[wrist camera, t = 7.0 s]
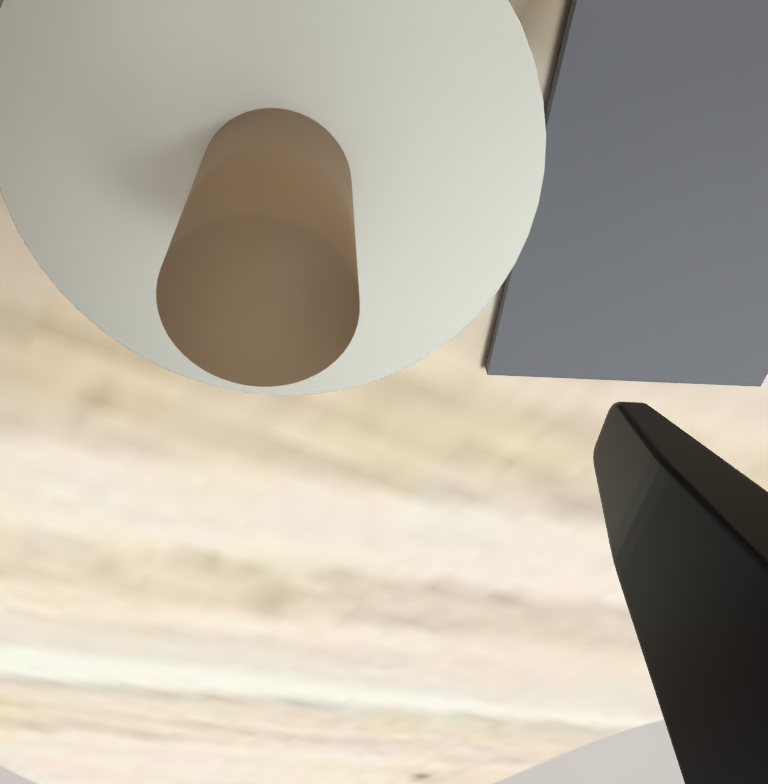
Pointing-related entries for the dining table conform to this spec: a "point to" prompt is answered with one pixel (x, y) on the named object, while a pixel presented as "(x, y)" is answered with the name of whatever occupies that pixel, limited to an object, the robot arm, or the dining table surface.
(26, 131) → the lid
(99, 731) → the dining table surface
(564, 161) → the mat
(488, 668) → the dining table surface
